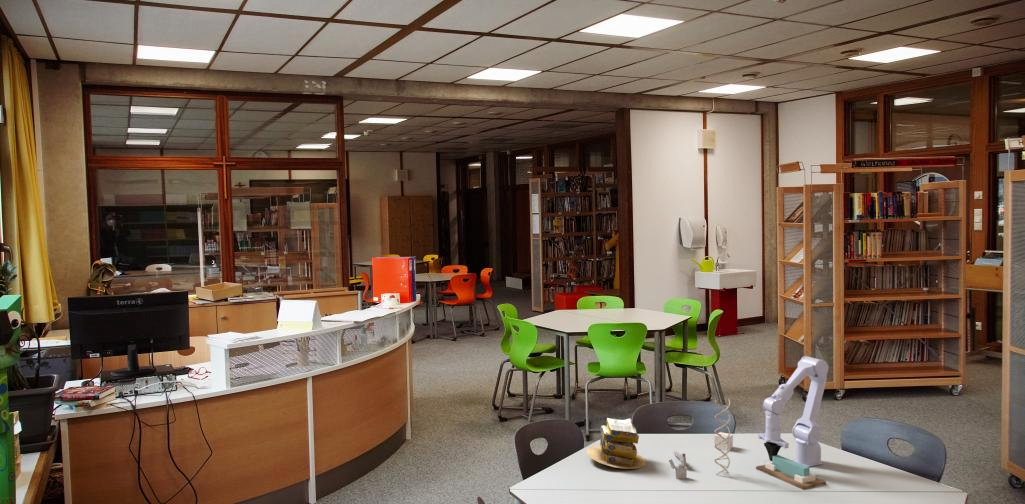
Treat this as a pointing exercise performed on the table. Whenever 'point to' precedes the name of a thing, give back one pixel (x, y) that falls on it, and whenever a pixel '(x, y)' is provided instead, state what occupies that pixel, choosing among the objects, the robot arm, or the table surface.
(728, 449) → the dna model
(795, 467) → the slat
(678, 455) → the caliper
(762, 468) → the walnut board
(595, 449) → the stacked boxes on plate
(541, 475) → the table surface
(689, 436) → the table surface
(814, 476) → the end caps
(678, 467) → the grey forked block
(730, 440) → the beige cube
